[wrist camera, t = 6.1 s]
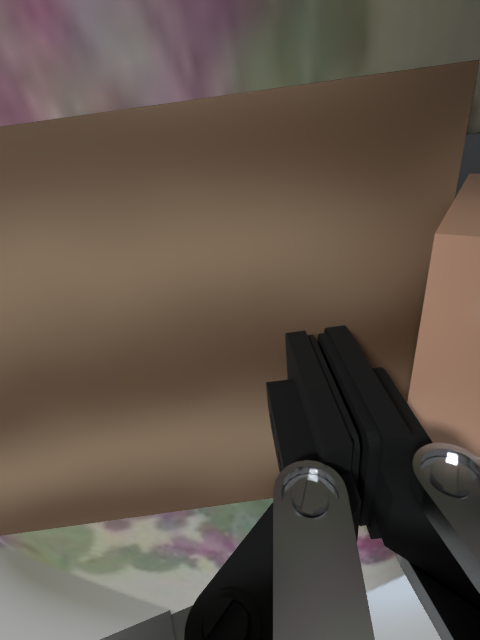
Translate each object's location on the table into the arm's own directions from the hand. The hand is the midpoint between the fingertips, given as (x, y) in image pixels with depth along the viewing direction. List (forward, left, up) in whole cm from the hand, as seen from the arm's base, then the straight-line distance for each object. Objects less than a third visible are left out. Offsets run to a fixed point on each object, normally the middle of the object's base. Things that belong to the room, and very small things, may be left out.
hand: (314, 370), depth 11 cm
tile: (0, +4, -1) cm, 4 cm away
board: (0, -7, -5) cm, 9 cm away
